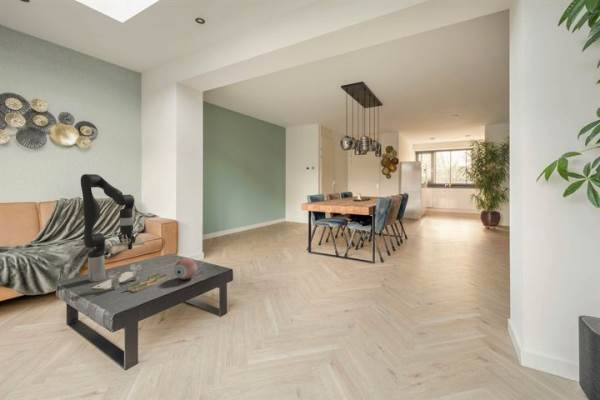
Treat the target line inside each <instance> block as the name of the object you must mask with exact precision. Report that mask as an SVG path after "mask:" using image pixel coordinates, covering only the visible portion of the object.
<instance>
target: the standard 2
mask: <svg viewBox="0 0 600 400" xmlns="http://www.w3.org/2000/svg"><path fill="white" fill-rule="evenodd" d="M142 269H143V268H142V264H141V263H139V264H137V265H136V263H132V264H130V265H129V270H130V271H131V272H132V273H133V277H132V281H134V282H138V281H140V278H141V277H140V276H141V275H140V273H141V272H140V270H142Z"/></svg>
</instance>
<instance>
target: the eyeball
mask: <svg viewBox="0 0 600 400" xmlns="http://www.w3.org/2000/svg"><path fill="white" fill-rule="evenodd" d="M175 263H176V264H174V269H173V271H174V275H175V276H176V278H178V279H180V280H190V279H191V278H192V277H194V276H195V274H196V272H197V271H198V270H197V268H198V267H197V262H196V261H194V260H193V258H189V257H184V258H181V259H179V260H178V261H177V262H175Z"/></svg>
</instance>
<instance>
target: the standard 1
mask: <svg viewBox="0 0 600 400" xmlns="http://www.w3.org/2000/svg"><path fill="white" fill-rule="evenodd" d="M121 274H122V271H117V272H116V271H115V270H113V271H112V270H111V271H109V272H108V279H111V288H110V289H111V290H114V291H116V290H117V289H120V283H119V278H120V277H121Z"/></svg>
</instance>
